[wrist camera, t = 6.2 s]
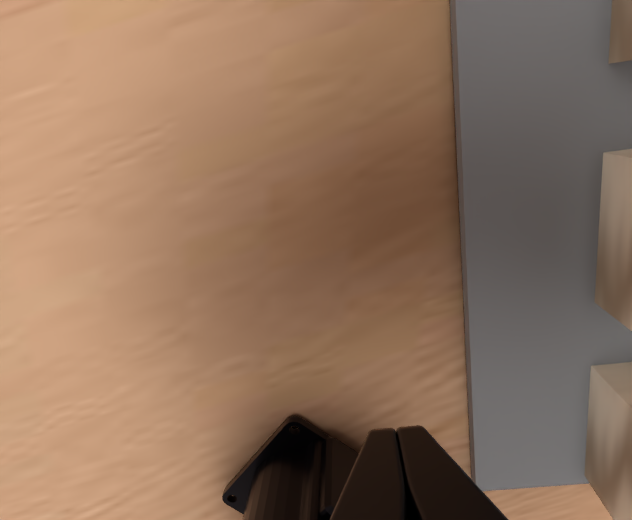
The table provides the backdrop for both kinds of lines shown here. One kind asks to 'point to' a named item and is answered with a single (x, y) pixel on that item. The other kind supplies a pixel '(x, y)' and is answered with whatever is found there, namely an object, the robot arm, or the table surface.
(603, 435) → the one-pip block
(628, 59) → the two-pip block
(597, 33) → the grey mat
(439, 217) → the table surface
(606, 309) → the plain block
